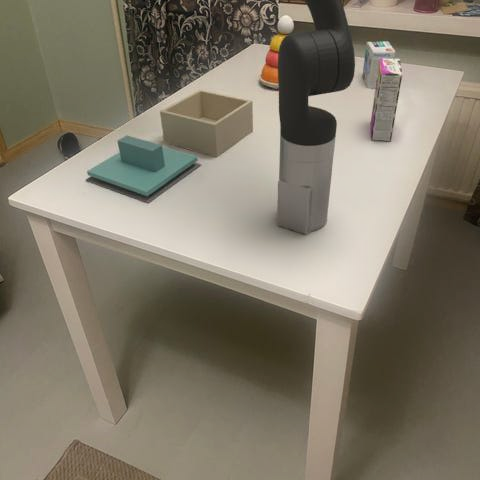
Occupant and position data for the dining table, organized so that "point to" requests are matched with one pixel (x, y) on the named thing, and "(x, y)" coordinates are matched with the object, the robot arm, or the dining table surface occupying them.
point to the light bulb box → (375, 60)
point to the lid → (142, 165)
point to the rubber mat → (140, 196)
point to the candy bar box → (385, 99)
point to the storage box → (207, 122)
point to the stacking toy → (275, 53)
